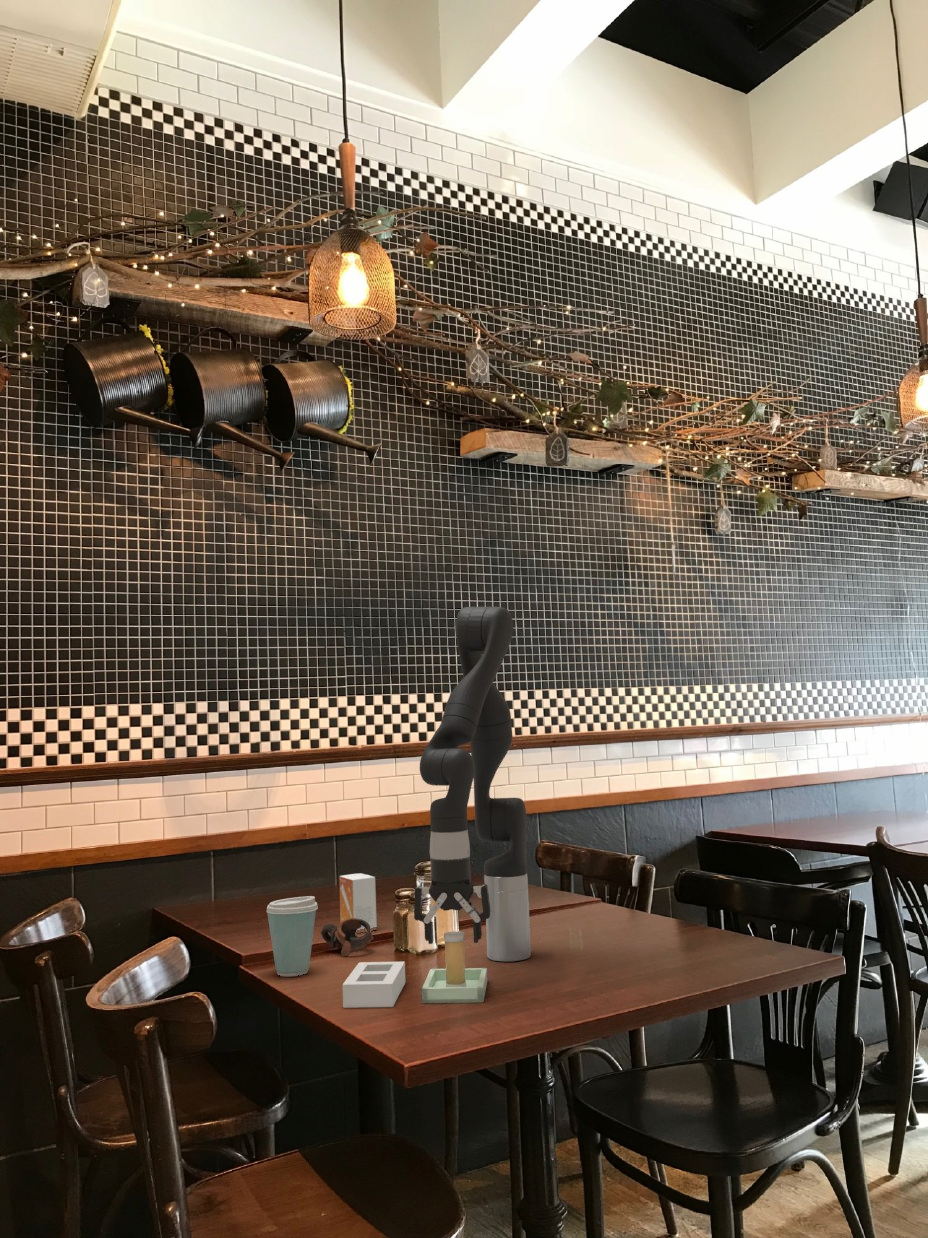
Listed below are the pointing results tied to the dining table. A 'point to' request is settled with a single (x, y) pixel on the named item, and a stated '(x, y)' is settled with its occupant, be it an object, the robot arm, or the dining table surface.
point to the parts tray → (439, 993)
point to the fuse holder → (374, 984)
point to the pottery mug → (347, 935)
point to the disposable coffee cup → (292, 933)
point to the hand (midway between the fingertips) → (453, 942)
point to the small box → (358, 898)
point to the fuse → (454, 959)
